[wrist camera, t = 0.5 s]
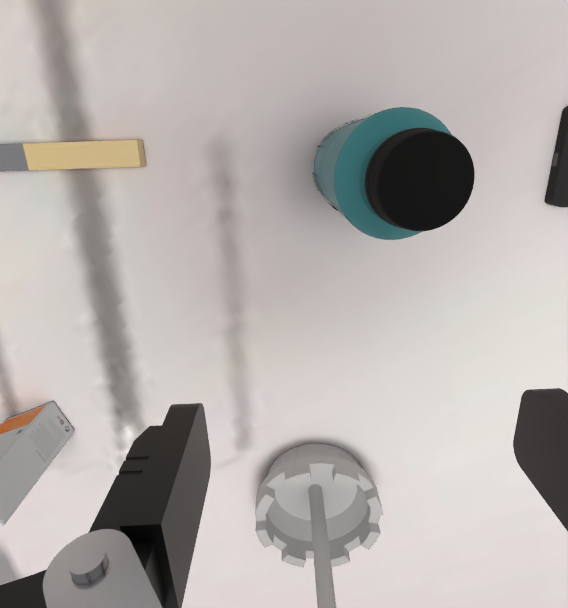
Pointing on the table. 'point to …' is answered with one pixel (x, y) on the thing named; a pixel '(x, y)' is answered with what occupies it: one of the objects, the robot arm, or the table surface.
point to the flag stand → (317, 510)
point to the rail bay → (72, 155)
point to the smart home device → (559, 167)
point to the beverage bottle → (395, 173)
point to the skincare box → (28, 452)
